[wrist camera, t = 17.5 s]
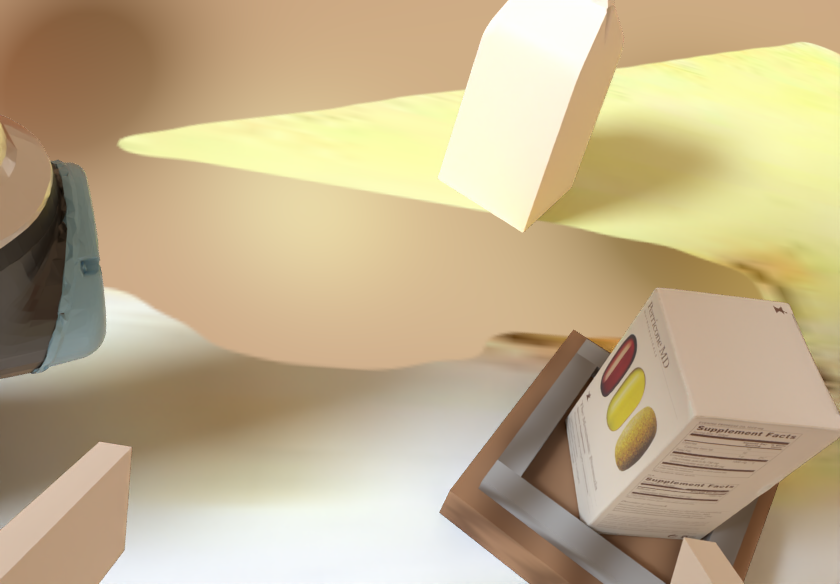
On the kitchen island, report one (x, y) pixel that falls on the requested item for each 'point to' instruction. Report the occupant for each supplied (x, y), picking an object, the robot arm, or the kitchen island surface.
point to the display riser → (567, 494)
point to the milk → (532, 105)
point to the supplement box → (696, 415)
